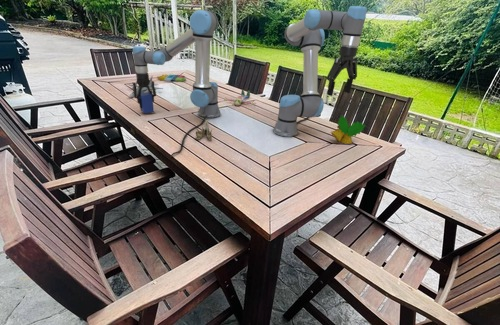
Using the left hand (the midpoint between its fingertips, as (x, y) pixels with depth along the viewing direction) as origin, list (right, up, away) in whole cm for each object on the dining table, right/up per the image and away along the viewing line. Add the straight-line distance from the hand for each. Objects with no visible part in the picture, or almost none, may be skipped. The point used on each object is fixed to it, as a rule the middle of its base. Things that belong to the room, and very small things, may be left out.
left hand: (146, 107), depth 180 cm
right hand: (+115, -5, -53) cm, 126 cm away
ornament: (+130, -25, -19) cm, 134 cm away
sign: (-12, +51, +99) cm, 112 cm away
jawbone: (+45, -23, -27) cm, 57 cm away
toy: (+64, +13, +41) cm, 77 cm away
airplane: (-21, +23, +47) cm, 56 cm away
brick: (0, -2, +1) cm, 3 cm away
